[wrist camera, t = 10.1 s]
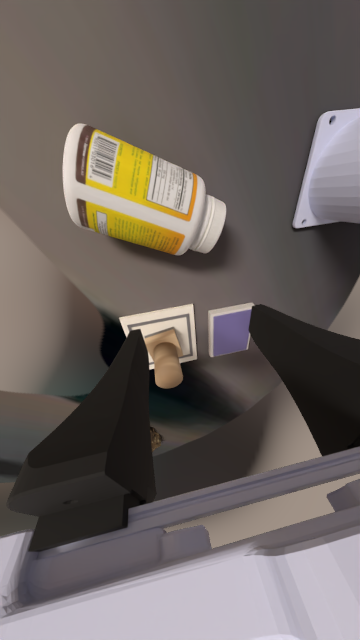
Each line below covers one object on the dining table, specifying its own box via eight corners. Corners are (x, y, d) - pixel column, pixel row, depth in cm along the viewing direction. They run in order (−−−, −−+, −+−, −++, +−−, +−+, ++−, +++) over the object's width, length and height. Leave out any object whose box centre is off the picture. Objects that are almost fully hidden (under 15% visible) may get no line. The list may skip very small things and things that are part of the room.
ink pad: (251, 302, 23) (256, 307, 22) (244, 345, 28) (248, 350, 27) (208, 310, 23) (211, 315, 22) (208, 353, 27) (211, 358, 26)
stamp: (173, 326, 23) (182, 362, 18) (181, 347, 25) (190, 384, 20) (144, 336, 23) (145, 375, 18) (154, 355, 25) (158, 394, 20)
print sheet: (192, 303, 22) (193, 305, 21) (196, 357, 28) (197, 359, 27) (119, 317, 21) (119, 319, 21) (139, 369, 27) (139, 371, 27)
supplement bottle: (85, 218, 15) (193, 252, 18) (61, 232, 11) (209, 273, 14) (87, 130, 12) (216, 189, 15) (54, 98, 8) (245, 191, 11)
